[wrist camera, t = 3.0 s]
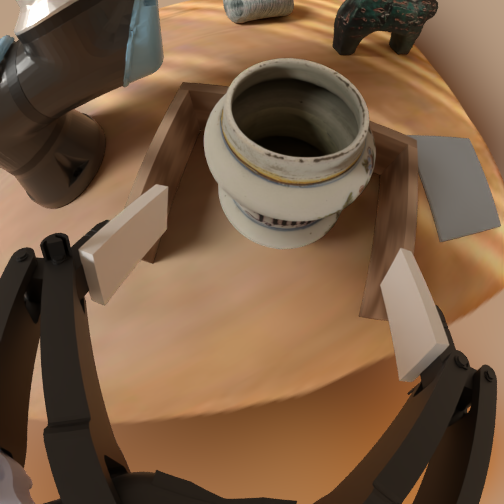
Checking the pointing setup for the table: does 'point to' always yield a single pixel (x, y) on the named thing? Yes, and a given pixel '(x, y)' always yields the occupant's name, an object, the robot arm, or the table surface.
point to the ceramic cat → (381, 22)
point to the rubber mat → (455, 186)
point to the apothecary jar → (289, 151)
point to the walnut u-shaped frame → (386, 165)
